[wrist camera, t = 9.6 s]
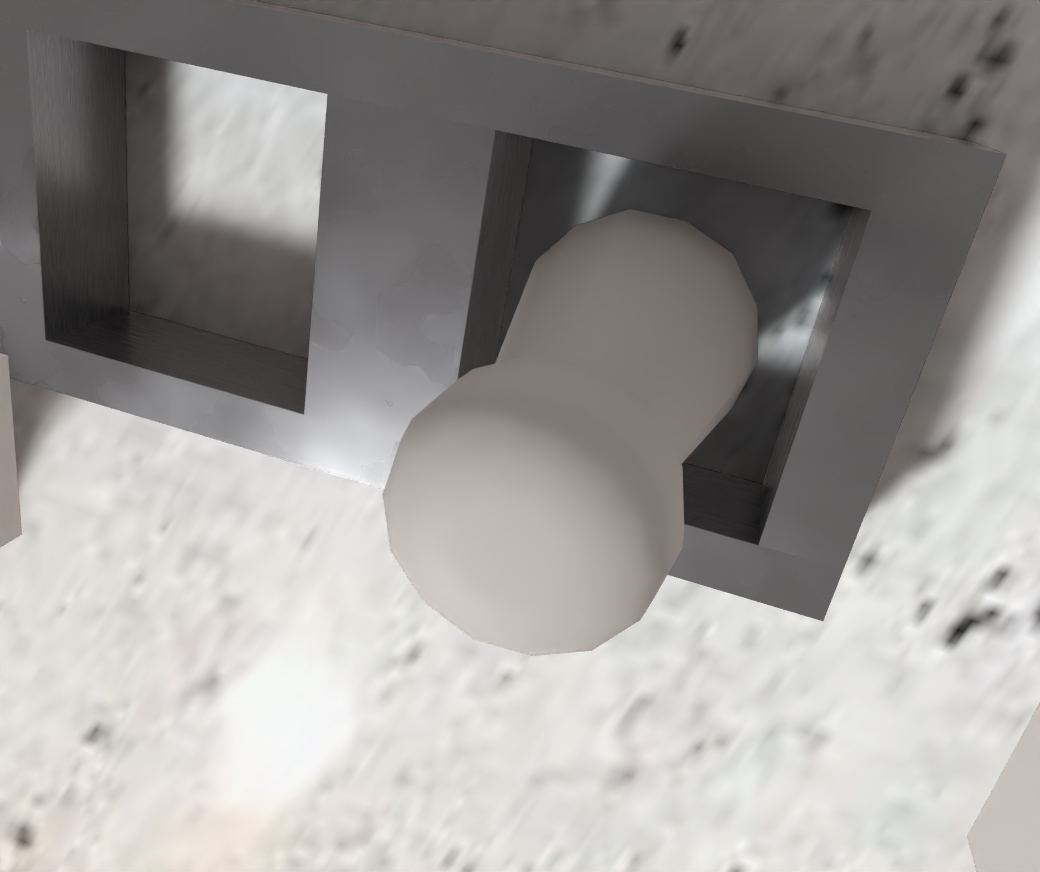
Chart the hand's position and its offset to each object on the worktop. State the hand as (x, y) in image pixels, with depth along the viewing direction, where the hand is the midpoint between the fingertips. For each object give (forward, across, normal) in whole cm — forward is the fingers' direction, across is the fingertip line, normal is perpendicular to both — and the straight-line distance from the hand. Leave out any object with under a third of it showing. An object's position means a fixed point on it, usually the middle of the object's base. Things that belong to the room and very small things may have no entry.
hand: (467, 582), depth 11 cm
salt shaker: (+14, 0, 0) cm, 14 cm away
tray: (+14, -5, 0) cm, 15 cm away
